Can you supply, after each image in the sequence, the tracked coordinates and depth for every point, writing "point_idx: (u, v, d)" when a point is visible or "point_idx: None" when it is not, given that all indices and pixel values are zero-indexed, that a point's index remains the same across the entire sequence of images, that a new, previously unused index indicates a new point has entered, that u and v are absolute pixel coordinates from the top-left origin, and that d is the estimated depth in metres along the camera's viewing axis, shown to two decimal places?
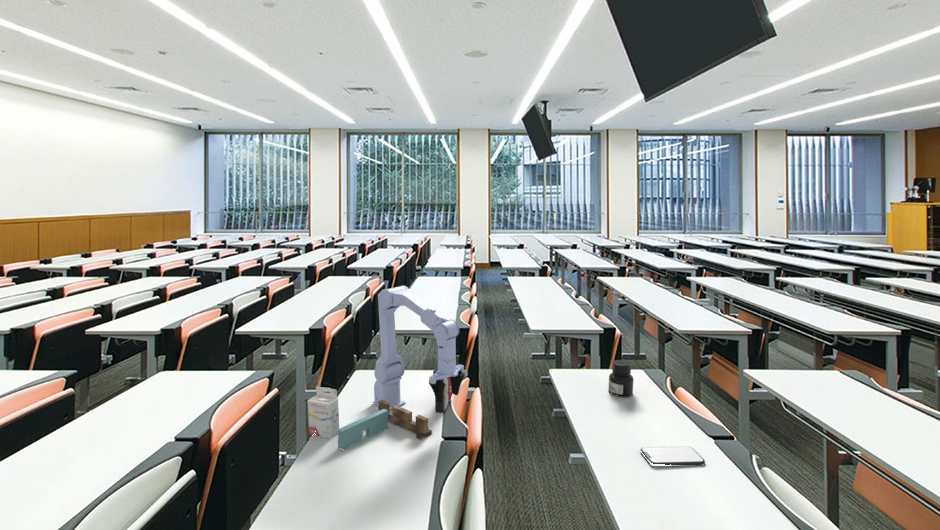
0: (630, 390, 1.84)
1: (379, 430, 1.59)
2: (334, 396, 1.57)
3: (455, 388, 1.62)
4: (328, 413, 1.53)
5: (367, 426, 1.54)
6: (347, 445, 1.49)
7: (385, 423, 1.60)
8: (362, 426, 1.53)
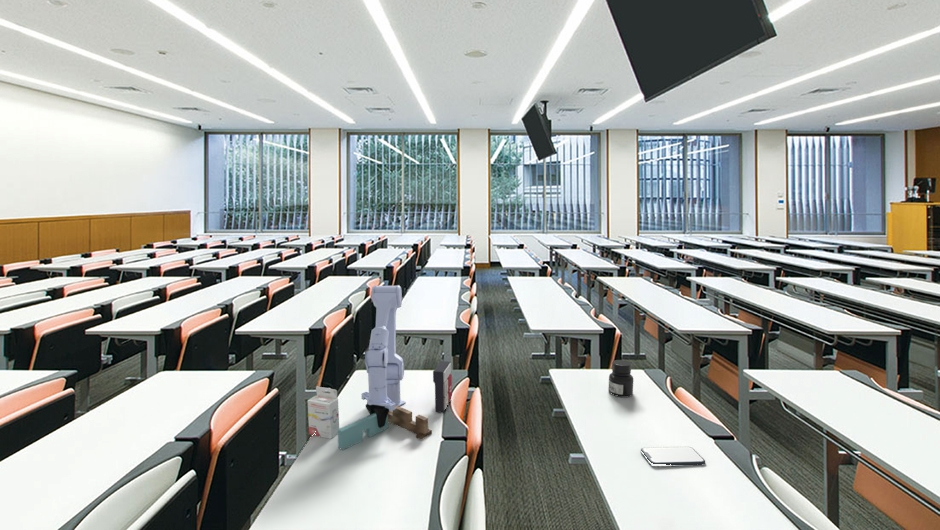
0: (630, 390, 1.84)
1: (379, 430, 1.59)
2: (334, 396, 1.57)
3: None
4: (328, 414, 1.53)
5: (367, 426, 1.54)
6: (347, 445, 1.49)
7: (385, 423, 1.60)
8: (362, 426, 1.53)
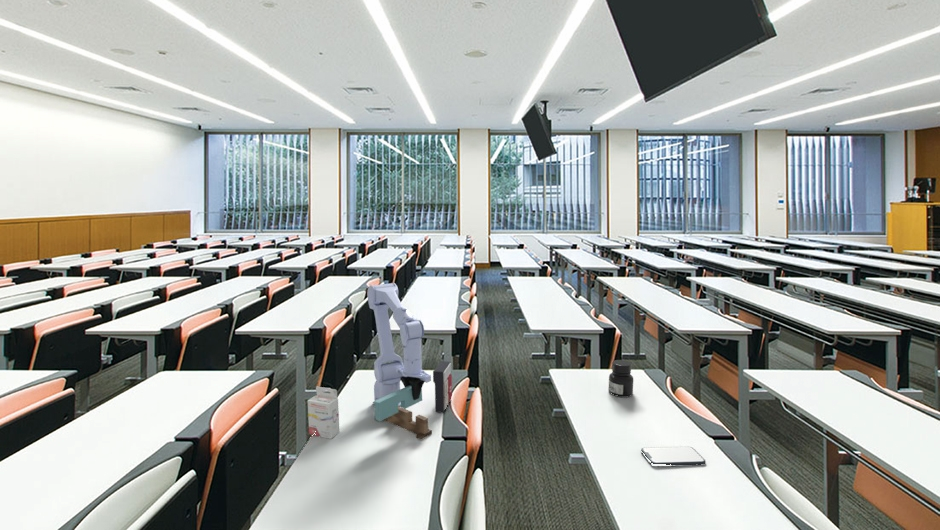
0: (630, 390, 1.84)
1: (413, 402, 1.60)
2: (334, 396, 1.57)
3: None
4: (328, 413, 1.53)
5: (402, 398, 1.56)
6: (384, 416, 1.50)
7: (419, 396, 1.62)
8: (398, 398, 1.54)
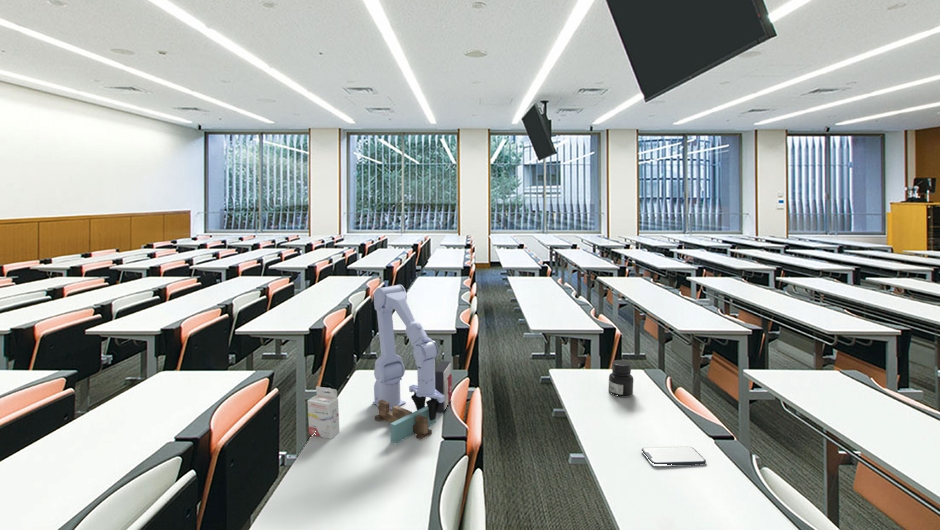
0: (630, 390, 1.84)
1: None
2: (334, 396, 1.57)
3: None
4: (328, 413, 1.53)
5: None
6: (399, 439, 1.53)
7: None
8: (413, 420, 1.57)
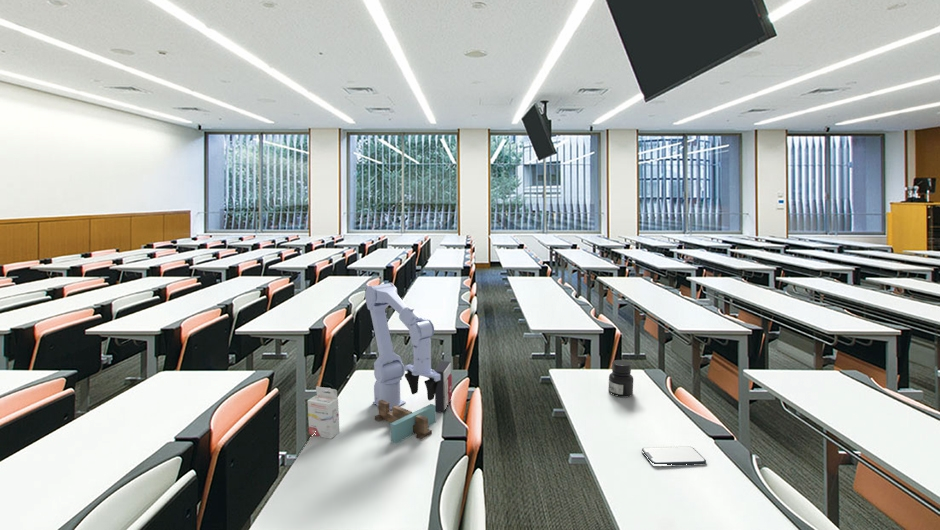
0: (630, 390, 1.84)
1: None
2: (334, 396, 1.57)
3: None
4: (328, 413, 1.53)
5: None
6: (399, 439, 1.53)
7: (433, 418, 1.64)
8: (413, 420, 1.57)
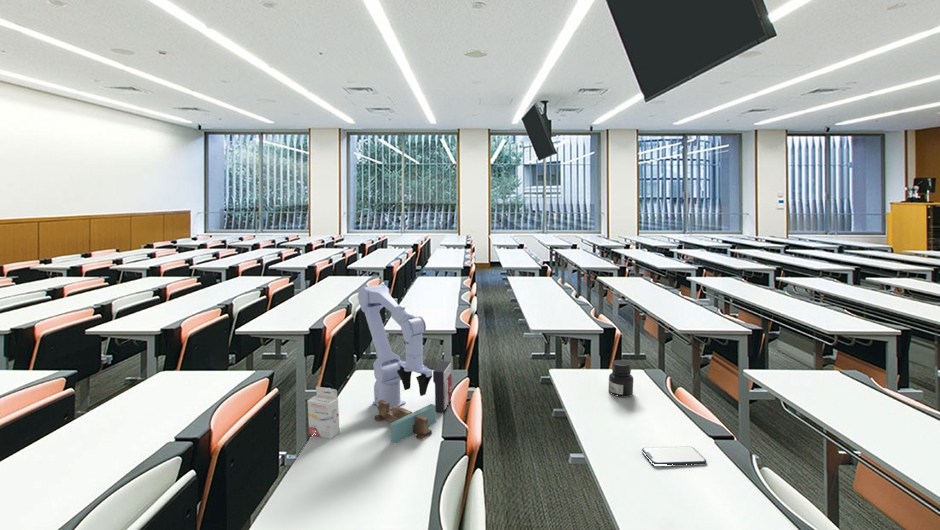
0: (630, 390, 1.84)
1: None
2: (334, 396, 1.57)
3: None
4: (328, 413, 1.53)
5: None
6: (399, 439, 1.53)
7: (433, 418, 1.64)
8: (413, 420, 1.57)
